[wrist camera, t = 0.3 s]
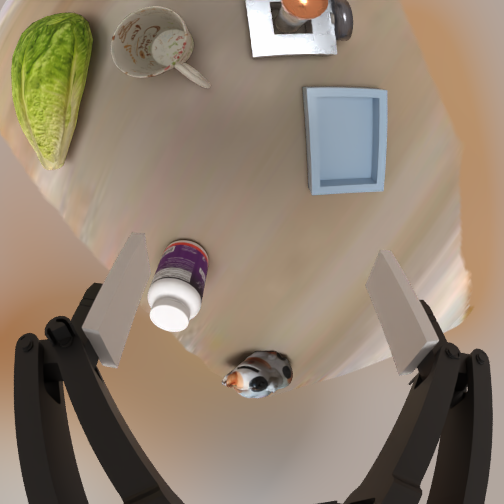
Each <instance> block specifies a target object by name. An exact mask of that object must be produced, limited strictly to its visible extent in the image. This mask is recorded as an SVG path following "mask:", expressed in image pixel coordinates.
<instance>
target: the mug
mask: <svg viewBox="0 0 504 504" xmlns="http://www.w3.org/2000/svg"><path fill="white" fill-rule="evenodd" d="M193 47H194V43H193V39H192V36H191V34H190V32H189V30H188V28H187V26H186V24H185V22H184V21H183V19H182V18H181V17H180V16H179V15H178V14H177V13H176V12H174V11H173V10H171V9H169V8H166V7H161V6H150V7H145V8H142V9H139V10H137V11H135V12H133V13H131V14H130V15H128V16H127V17H126V18H125V19H124V20H123V21H122V22H121V23H120V24H119V26H118V27H117V29H116V30H115V32H114V35H113V37H112V41H111V55H112V59H113V61H114V63H115V65H116V66H117V67H118V68H119V69H120V70H121V71H122V72H123V73H125V74H127V75H129V76H132V77H137V78H147V77H153V76H156V75H159V74H161V73H164V72H166V71H168V70H170V69H173V68H176V69H177V70H178V71H180V72H181V73H182V74H183V75H185V76H186V77H187V78H189V79H190V80H191V81H193V82H194V83H196V84H198V85H199V86H201V87H203V88H210V83H209V81H208V80H207V79H206V78H205V77H203V75H202V74H201V73H200V72H198V71H197V70H196V69H194V68H193V67H191V66H190V65H188V64H187V63H185V61H187V60H188V58H189V57H190V56H191V54H192V51H193Z"/></svg>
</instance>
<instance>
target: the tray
mask: <svg viewBox="0 0 504 504" xmlns="http://www.w3.org/2000/svg"><path fill="white" fill-rule="evenodd" d="M302 89H303V101H304V114H305V129H306V146H307V167H308V188H309V190H310V192H311V194H312V195H323V194H338V193H355V192H375V191H383V189H384V178H385V165H386V147H387V90H384V89H379V88H365V87H336V86H319V87H302Z"/></svg>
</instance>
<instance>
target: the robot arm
mask: <svg viewBox="0 0 504 504" xmlns="http://www.w3.org/2000/svg"><path fill="white" fill-rule="evenodd" d="M150 274H151V270H150V264H149V258H148V252H147V246H146V239H145V233H131V235H130V237H129V238H128V240H127V242H126V243H125V245H124V247H123V248H122V250H121V252H120V254H119V255H118V257H117V259H116V261H115V263H114V264H113V266H112V268H111V270H110V272H109V274H108V276H107V277H106V279H105V281H104V283H103V284H100V283H94V284H93V285H91V286H90V287H89V288H88V289H87V291H86V292H85V294H84V296H83V299H82V300H81V302H80V304H79V306H78V307H77V309H76V311H75V314H74V315H73V317H72V319H71V321H70V319H69V318H67V317H65V316H58V317H55V318H53V319H52V320H50V321H49V322H48V324H47V325H46V327H45V335H46V337H47V338H48V339H47V340H39V339H38V338H37V336H36V335H35V334H32V333H27V334H24V335H23V336H21V337H20V338H19V340H18V341H17V344H16V349H15V364H14V410H15V412H14V413H15V426H16V438H17V446H18V454H19V460H20V466H21V472H22V477H23V482H24V486H25V491H26V495H27V498H28V502H29V504H88V500H87V498H86V495H85V491H84V488H83V485H82V482H81V478H80V475H79V471H78V467H77V463H76V459H75V455H74V451H73V446H72V441H71V437H70V431H69V426H68V420H67V413H66V406H65V399H64V390H63V381H64V384H65V386H66V389H67V392H68V394H69V397H70V400H71V402H72V405H73V407H74V410H75V412H76V414H77V416H78V419H79V421H80V424H81V425H82V428H83V430H84V432H85V434H86V436H87V438H88V441H89V443H90V445H91V447H92V449H93V451H94V452H95V454H96V456H97V458H98V460H99V462H100V464H101V465H102V467H103V469H104V471H105V472H106V474H107V476H108V477H109V479H110V481H111V482H112V484H113V485H114V487H115V489H116V490H117V492H118V493H119V495H120V496H121V498H122V500H123V502H124V504H184V503H183V502H182V500H181V499H180V498H179V497H178V496H177V495H176V494H175V493H174V492H173V491H172V490H171V488H170V487H169V486H168V485H167V483H166V482H165V481H164V479H163V478H162V477H161V476H160V474H159V473H158V471H157V470H156V469H155V467H154V466H153V464H152V463H151V461H150V460H149V459H148V457H147V456H146V454H145V453H144V451H143V450H142V448H141V446H140V445H139V443H138V442H137V440H136V439H135V437H134V435H133V434H132V432H131V431H130V429H129V427H128V425H127V424H126V422H125V420H124V418H123V417H122V415H121V413H120V412H119V410H118V408H117V406H116V404H115V402H114V400H113V398H112V396H111V394H110V393H109V390H108V388H107V386H106V384H105V382H104V380H103V378H102V376H101V374H100V372H99V370H98V368H97V366H96V365H97V362H98V359H99V360H100V362H101V363H102V365H104V366H108V367H113V368H118V365H119V362H120V358H121V355H122V352H123V349H124V346H125V343H126V340H127V337H128V334H129V331H130V328H131V325H132V322H133V319H134V316H135V313H136V311H137V308H138V305H139V303H140V300H141V297H142V294H143V292H144V289H145V287H146V284H147V281H148V279H149V276H150ZM365 286H366V288H367V290H368V293H369V295H370V298H371V300H372V303H373V305H374V308H375V310H376V313H377V315H378V318H379V320H380V323H381V326H382V328H383V331H384V334H385V336H386V339H387V342H388V345H389V347H390V350H391V353H392V356H393V359H394V362H395V365H396V368H397V371H398V374H399V375H407V374H411V373H412V372H413V371H414V370H415V368H418V371H419V373H418V374H417V375H416V376H415V377H414V378H413V379H412V380H411V381H410V383H409V385H411V384H412V383H413V385H412V388H411V390H410V392H409V395H408V397H407V399H406V402H405V404H404V406H403V408H402V411H401V413H400V415H399V417H398V419H397V421H396V424H395V425H394V427H393V430H392V431H391V433H390V435H389V437H388V439H387V441H386V443H385V445H384V447H383V448H382V450H381V452H380V454H379V456H378V458H377V459H376V461H375V463H374V464H373V466H372V468H371V469H370V471H369V472H368V474H367V476H366V478H365V479H364V480H363V482H362V483H361V485H360V486H359V487H358V488H357V489H356V490H354V491H353V492H352V493H351V494H350V495H349V497H348V498H347V499H346V501H345V502H344V503H343V504H418V503H419V500H420V498H421V496H422V490H421V488H420V484H421V481H422V479H423V477H424V475H425V473H426V470H427V468H428V466H429V464H430V461H431V459H432V456H433V454H434V451H435V449H436V446H437V444H438V441H439V438H440V443H439V449H438V455H437V461H436V466H435V471H434V476H433V480H432V485H431V489H430V493H429V496H428V500H427V504H484V501H485V496H486V489H487V484H488V477H489V469H490V461H491V448H492V426H493V425H492V424H493V423H492V422H493V410H492V388H491V387H492V386H491V375H490V364H489V359H488V356H487V355H486V353H485V352H484V351H483V350H481V349H475V350H473V351H472V353H471V354H465V353H460V351H459V349H458V347H457V346H455V345H454V344H452V343H448V342H447V340H446V339H445V336H444V334H443V332H442V330H441V328H440V326H439V324H438V322H436V318H435V316H433V312H432V311H431V309H430V307H429V306H428V305H427V304H426V302H425V301H424V300H419V299H418V297H417V295H416V293H415V291H414V289H413V288H412V286H411V284H410V282H409V280H408V279H407V277H406V275H405V273H404V272H403V270H402V268H401V267H400V265H399V263H398V262H397V260H396V258H395V257H394V255H393V253H392V252H391V251H390V250H380V251H379V253H378V256H377V259H376V261H375V264H374V266H373V268H372V271H371V273H370V276H369V278H368V280H367V283H366V285H365ZM467 387H468V391H467ZM440 435H441V436H440ZM318 504H340V503H337V501H331V502H325V503H318Z"/></svg>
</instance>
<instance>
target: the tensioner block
mask: <svg viewBox="0 0 504 504" xmlns="http://www.w3.org/2000/svg"><path fill="white" fill-rule="evenodd" d="M245 4H246V10H247V17H248V24H249V32H250V39H251V46H252V54H253V59H255V58H267V57H282V56H331V55H336V54H337V46H336V40H342V41H347V40H349V39H350V37H351V34H352V30H353V16H352V11H351V7H350V5H349V3H348V2H347V0H328V7H327V9H326V10H325V12H324V13H322V14H321V15H320V16H319V17H317V18H315V19H311V20H308V21H306V22H305V26H306V34H276V35H274V30H273V23H272V16H271V9H276V8H281V7H282V3H281V0H245Z"/></svg>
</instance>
